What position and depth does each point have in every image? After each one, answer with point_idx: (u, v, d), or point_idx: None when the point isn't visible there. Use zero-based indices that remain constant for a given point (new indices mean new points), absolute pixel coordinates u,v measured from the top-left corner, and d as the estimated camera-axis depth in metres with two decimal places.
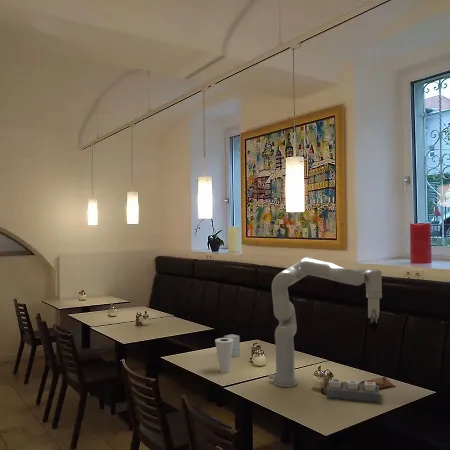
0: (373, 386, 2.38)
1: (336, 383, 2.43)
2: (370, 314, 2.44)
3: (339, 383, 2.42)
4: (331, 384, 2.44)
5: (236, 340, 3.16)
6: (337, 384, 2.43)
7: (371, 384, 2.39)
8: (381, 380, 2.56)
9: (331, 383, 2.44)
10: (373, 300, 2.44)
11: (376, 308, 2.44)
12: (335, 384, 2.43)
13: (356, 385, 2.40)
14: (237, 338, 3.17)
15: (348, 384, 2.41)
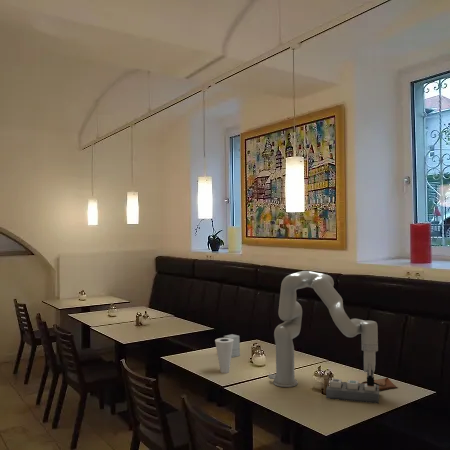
0: (373, 388, 2.38)
1: (336, 383, 2.43)
2: (366, 368, 2.36)
3: (339, 383, 2.42)
4: (331, 384, 2.44)
5: (236, 340, 3.16)
6: (337, 384, 2.43)
7: (371, 386, 2.39)
8: (383, 381, 2.55)
9: (331, 383, 2.44)
10: (369, 354, 2.36)
11: (372, 362, 2.35)
12: (335, 384, 2.43)
13: (356, 385, 2.40)
14: (237, 338, 3.17)
15: (348, 384, 2.41)
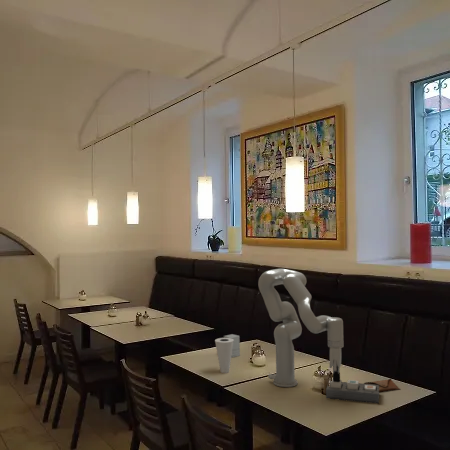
0: (373, 390, 2.38)
1: (336, 384, 2.43)
2: (331, 364, 2.41)
3: (339, 384, 2.42)
4: (331, 385, 2.44)
5: (236, 340, 3.16)
6: (337, 385, 2.43)
7: (371, 388, 2.39)
8: (385, 382, 2.53)
9: (331, 384, 2.44)
10: (334, 350, 2.41)
11: (337, 358, 2.40)
12: (335, 385, 2.43)
13: (356, 385, 2.40)
14: (237, 338, 3.17)
15: (348, 384, 2.41)
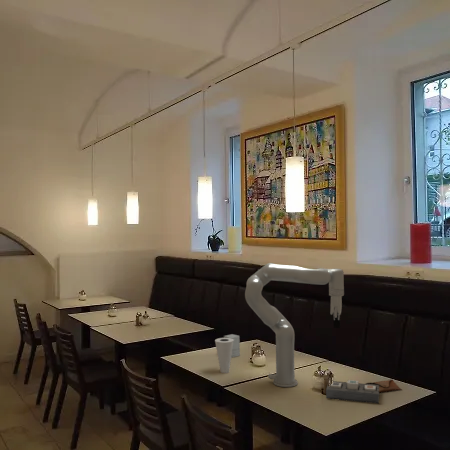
0: (373, 390, 2.38)
1: (336, 387, 2.43)
2: (332, 311, 2.58)
3: (339, 387, 2.42)
4: None
5: (236, 340, 3.16)
6: None
7: (371, 388, 2.39)
8: (387, 383, 2.52)
9: None
10: (335, 298, 2.58)
11: (338, 305, 2.57)
12: None
13: (356, 385, 2.40)
14: (237, 338, 3.17)
15: (348, 384, 2.41)
